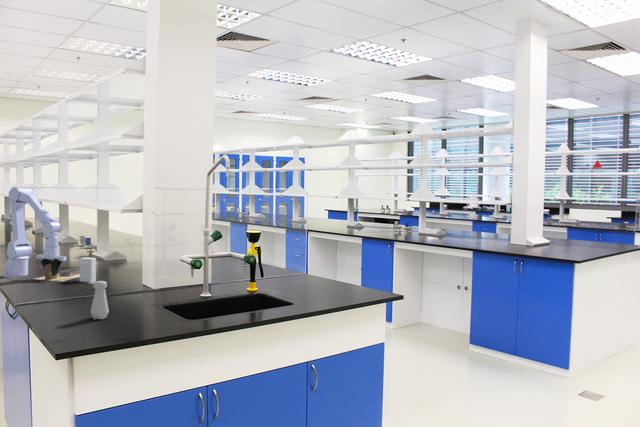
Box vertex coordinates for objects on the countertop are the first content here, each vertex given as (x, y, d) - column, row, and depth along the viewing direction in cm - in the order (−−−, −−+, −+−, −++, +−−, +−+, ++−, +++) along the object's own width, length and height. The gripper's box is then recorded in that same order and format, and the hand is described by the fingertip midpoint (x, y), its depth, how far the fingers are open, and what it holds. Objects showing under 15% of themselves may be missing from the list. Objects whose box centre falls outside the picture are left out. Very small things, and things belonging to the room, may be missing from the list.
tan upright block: (44, 279, 235) (45, 264, 235) (51, 278, 240) (52, 263, 240) (50, 280, 235) (50, 265, 235) (57, 278, 239) (57, 264, 239)
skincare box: (96, 282, 238) (96, 257, 237) (91, 284, 234) (91, 258, 233) (84, 282, 238) (84, 257, 238) (78, 283, 234) (79, 258, 234)
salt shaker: (94, 316, 177) (94, 279, 177) (110, 316, 178) (111, 280, 177) (87, 320, 171) (88, 282, 171) (105, 320, 172) (105, 283, 171)
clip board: (31, 281, 236) (31, 274, 236) (64, 273, 258) (64, 267, 257) (61, 283, 233) (61, 276, 233) (91, 276, 254) (91, 269, 254)
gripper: (31, 246, 234) (31, 275, 235) (59, 248, 231) (58, 277, 232) (43, 245, 241) (42, 273, 242) (69, 246, 238) (69, 275, 239)
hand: (51, 275), depth 237 cm, fingers closed on tan upright block, 3 cm apart
